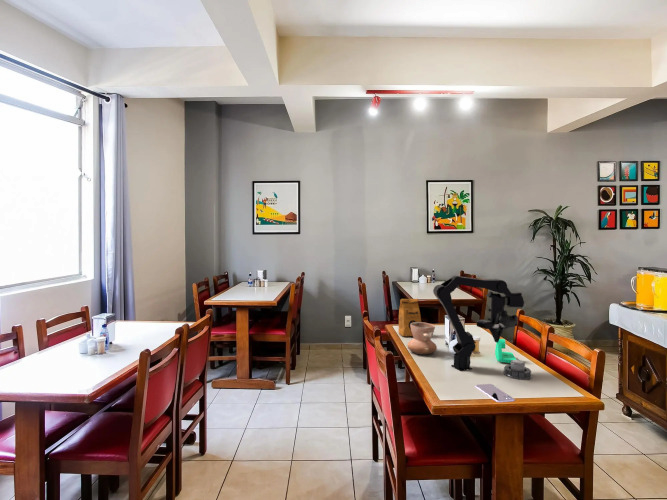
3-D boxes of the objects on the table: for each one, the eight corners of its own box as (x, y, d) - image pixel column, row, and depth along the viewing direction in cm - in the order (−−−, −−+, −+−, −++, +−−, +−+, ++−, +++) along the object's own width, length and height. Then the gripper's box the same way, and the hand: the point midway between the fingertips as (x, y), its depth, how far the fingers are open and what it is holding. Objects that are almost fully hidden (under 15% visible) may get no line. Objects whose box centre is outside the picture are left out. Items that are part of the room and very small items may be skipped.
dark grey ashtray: (518, 381, 153) (518, 374, 153) (497, 372, 163) (497, 366, 163) (537, 377, 157) (538, 371, 157) (516, 368, 167) (516, 363, 167)
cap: (518, 376, 157) (518, 364, 157) (507, 372, 162) (508, 360, 162) (527, 374, 159) (527, 362, 159) (516, 370, 164) (517, 358, 164)
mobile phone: (491, 383, 149) (516, 399, 135) (491, 385, 149) (516, 401, 135) (473, 384, 148) (497, 400, 133) (473, 386, 148) (497, 403, 133)
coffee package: (422, 337, 218) (423, 300, 217) (401, 337, 217) (402, 300, 216) (416, 333, 228) (417, 297, 227) (397, 333, 226) (397, 297, 226)
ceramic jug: (440, 357, 182) (441, 328, 181) (411, 357, 182) (412, 328, 181) (430, 347, 200) (431, 321, 199) (403, 346, 200) (404, 320, 199)
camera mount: (516, 365, 172) (517, 343, 172) (498, 364, 174) (499, 342, 174) (511, 357, 184) (512, 336, 184) (494, 356, 186) (495, 335, 186)
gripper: (495, 312, 156) (494, 349, 156) (528, 309, 163) (527, 345, 163) (476, 307, 166) (475, 342, 166) (507, 305, 173) (506, 338, 173)
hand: (496, 342), depth 167 cm, fingers closed
